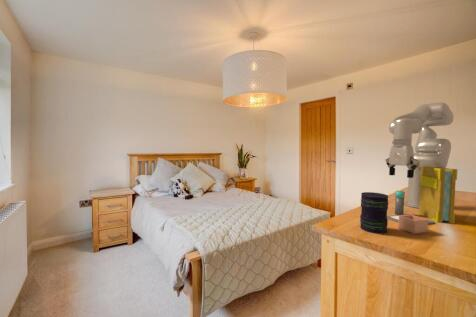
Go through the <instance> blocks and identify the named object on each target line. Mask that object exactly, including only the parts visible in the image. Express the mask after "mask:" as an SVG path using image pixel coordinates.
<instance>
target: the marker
mask: <svg viewBox="0 0 476 317" xmlns="http://www.w3.org/2000/svg"><path fill="white" fill-rule="evenodd" d="M394 200H395V202H394V204H395V205H394V206H395V207H394V214H395V215H404V214H405V213H404V212H405V211H404V210H405V204H404V202H405V191H403V190H395V199H394Z"/></svg>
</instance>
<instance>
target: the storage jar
mask: <svg viewBox="0 0 476 317" xmlns="http://www.w3.org/2000/svg"><path fill="white" fill-rule="evenodd" d="M360 193H361V194H360V195H361V198H360V207H361V209H360V210H361V213H360V219H359V224H360V226H359V228H360V229H361V230H363V231H364V232H367V233H370V234H375V235H376V234H379V235H383V234H386V233H388V230H387V229H388V226H389V225H388V224H389V223H388V221H389V219H387V216H388V210H389V195H388V194H385V193H382V192H374V191H373V192H371V191H369V192H366V191H365V192H360Z"/></svg>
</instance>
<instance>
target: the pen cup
mask: <svg viewBox="0 0 476 317" xmlns="http://www.w3.org/2000/svg"><path fill="white" fill-rule="evenodd" d="M428 220H429V218H424V217H421V216H417V215H414V214H410V215H404V214H403V215H401V216H399V223H398V229H399V230H402V231H405V232H407V233H410V234H412V235H420V234H427V233H429V232H428V229H429V224H428Z"/></svg>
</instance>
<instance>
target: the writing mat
mask: <svg viewBox="0 0 476 317" xmlns="http://www.w3.org/2000/svg"><path fill="white" fill-rule="evenodd" d="M403 215H411V214H410V213H407V214H405V213H404V214H403ZM399 216H401V215H396V214H395V215H387V219H388V220H390V221H393V222H396V223H398V224H399ZM434 224H436V222H435V221H433V220H431V219H428V225H434Z"/></svg>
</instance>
